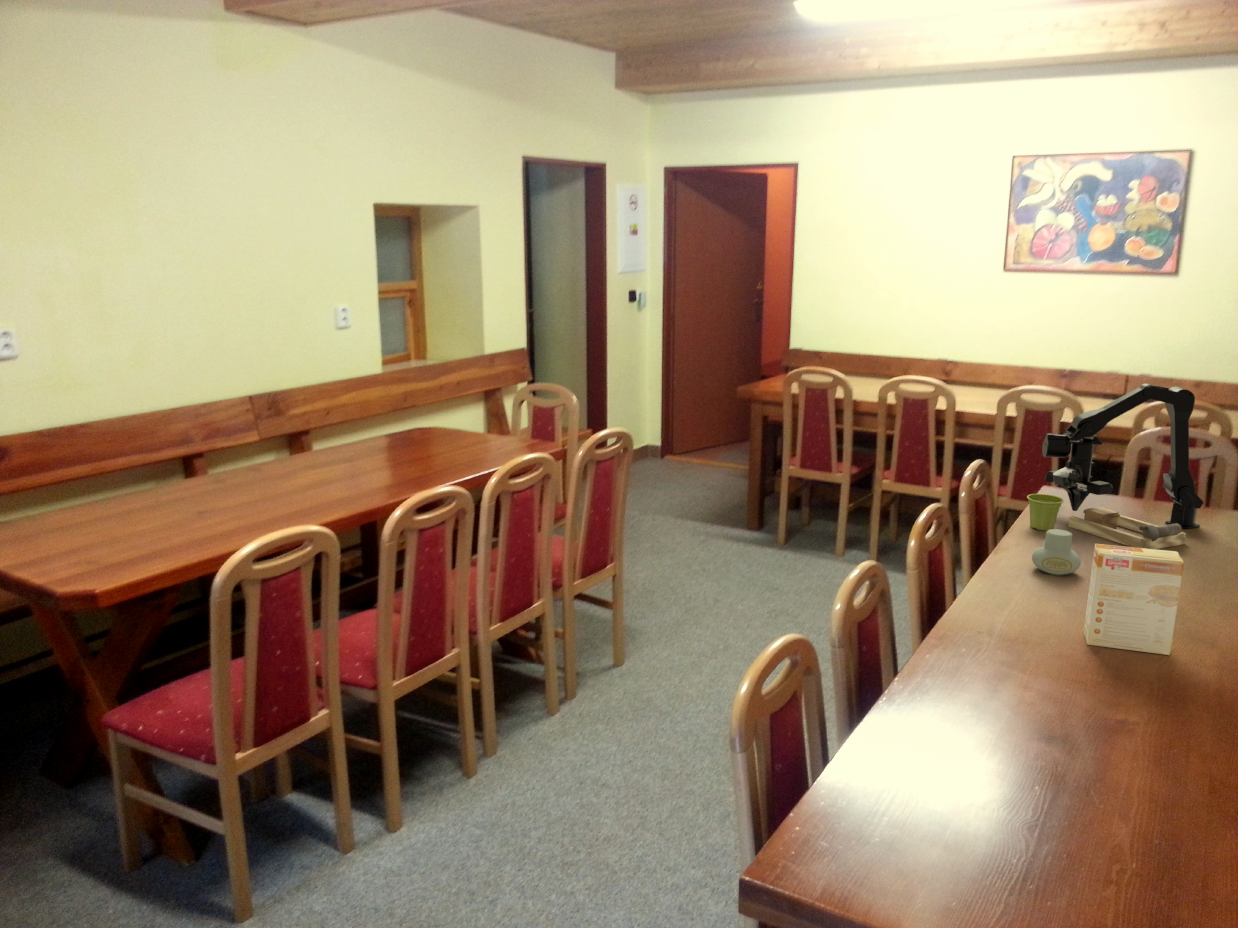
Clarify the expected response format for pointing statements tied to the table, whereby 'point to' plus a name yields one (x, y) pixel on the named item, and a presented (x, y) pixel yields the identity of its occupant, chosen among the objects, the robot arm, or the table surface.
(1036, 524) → the plant pot
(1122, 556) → the coffeecake box
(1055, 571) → the air freshener
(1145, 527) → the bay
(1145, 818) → the table surface
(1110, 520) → the box
